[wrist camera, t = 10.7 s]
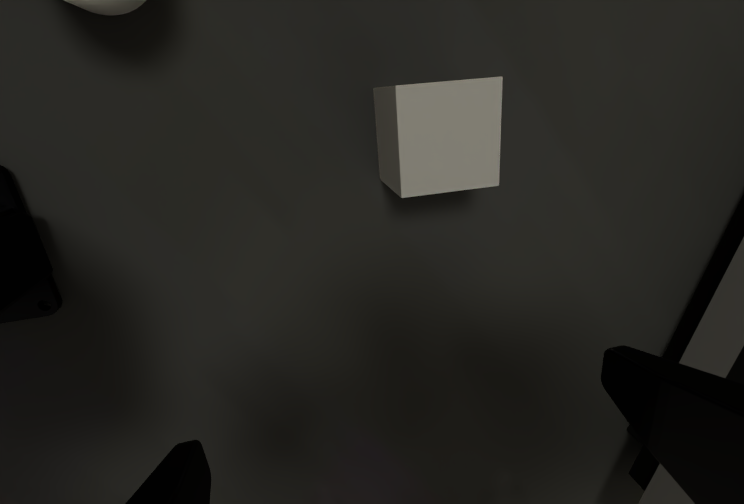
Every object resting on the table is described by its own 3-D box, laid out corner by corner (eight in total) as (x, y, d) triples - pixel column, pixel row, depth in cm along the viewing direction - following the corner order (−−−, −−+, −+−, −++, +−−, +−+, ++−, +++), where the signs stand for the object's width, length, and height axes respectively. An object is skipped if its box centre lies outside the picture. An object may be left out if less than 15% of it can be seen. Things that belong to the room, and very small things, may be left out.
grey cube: (379, 178, 19) (401, 198, 16) (372, 88, 18) (395, 85, 14) (459, 169, 20) (498, 185, 16) (459, 80, 19) (502, 76, 15)
